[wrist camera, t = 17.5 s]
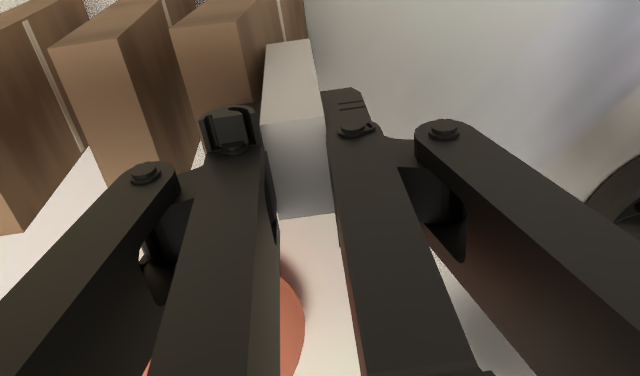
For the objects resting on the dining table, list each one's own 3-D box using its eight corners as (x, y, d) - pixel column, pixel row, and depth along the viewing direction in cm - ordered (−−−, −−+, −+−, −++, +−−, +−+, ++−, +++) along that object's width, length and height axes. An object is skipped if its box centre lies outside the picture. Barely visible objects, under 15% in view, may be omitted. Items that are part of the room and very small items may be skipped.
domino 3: (314, 76, 27) (274, 198, 17) (277, 79, 27) (218, 201, 17) (297, -42, 23) (236, 21, 13) (256, -37, 24) (167, 29, 14)
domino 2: (217, 88, 27) (178, 209, 17) (181, 93, 27) (120, 218, 17) (187, -26, 24) (117, 38, 14) (147, -20, 24) (46, 49, 14)
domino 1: (121, 102, 27) (24, 232, 17) (85, 108, 27) (-33, 240, 17) (78, -10, 24) (-72, 66, 14) (38, -4, 24) (-143, 77, 14)
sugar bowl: (305, 349, 39) (312, 480, 30) (132, 360, 38) (88, 497, 30) (300, 230, 33) (307, 353, 24) (91, 240, 32) (20, 371, 23)
